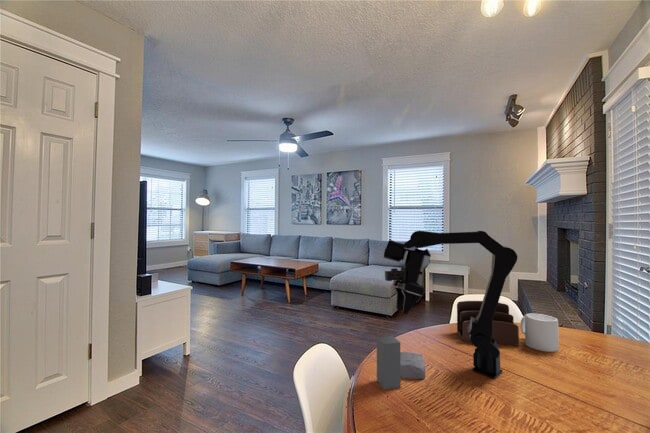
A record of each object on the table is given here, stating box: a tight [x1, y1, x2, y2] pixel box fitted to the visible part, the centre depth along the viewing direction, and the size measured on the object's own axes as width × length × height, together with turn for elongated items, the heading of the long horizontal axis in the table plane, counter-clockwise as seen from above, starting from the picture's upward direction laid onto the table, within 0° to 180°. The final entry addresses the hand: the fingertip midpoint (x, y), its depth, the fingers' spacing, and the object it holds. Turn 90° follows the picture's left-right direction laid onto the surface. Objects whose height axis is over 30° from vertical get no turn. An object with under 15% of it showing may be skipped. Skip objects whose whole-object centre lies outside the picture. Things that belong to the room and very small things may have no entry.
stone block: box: [400, 351, 426, 380], centre depth 91 cm, size 12×5×10 cm
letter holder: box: [456, 300, 520, 347], centre depth 116 cm, size 10×20×14 cm, turn 77°
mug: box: [520, 312, 560, 353], centre depth 111 cm, size 14×10×11 cm
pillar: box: [376, 335, 402, 391], centre depth 83 cm, size 5×5×12 cm
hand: (401, 311), depth 97 cm, fingers open, 9 cm apart
